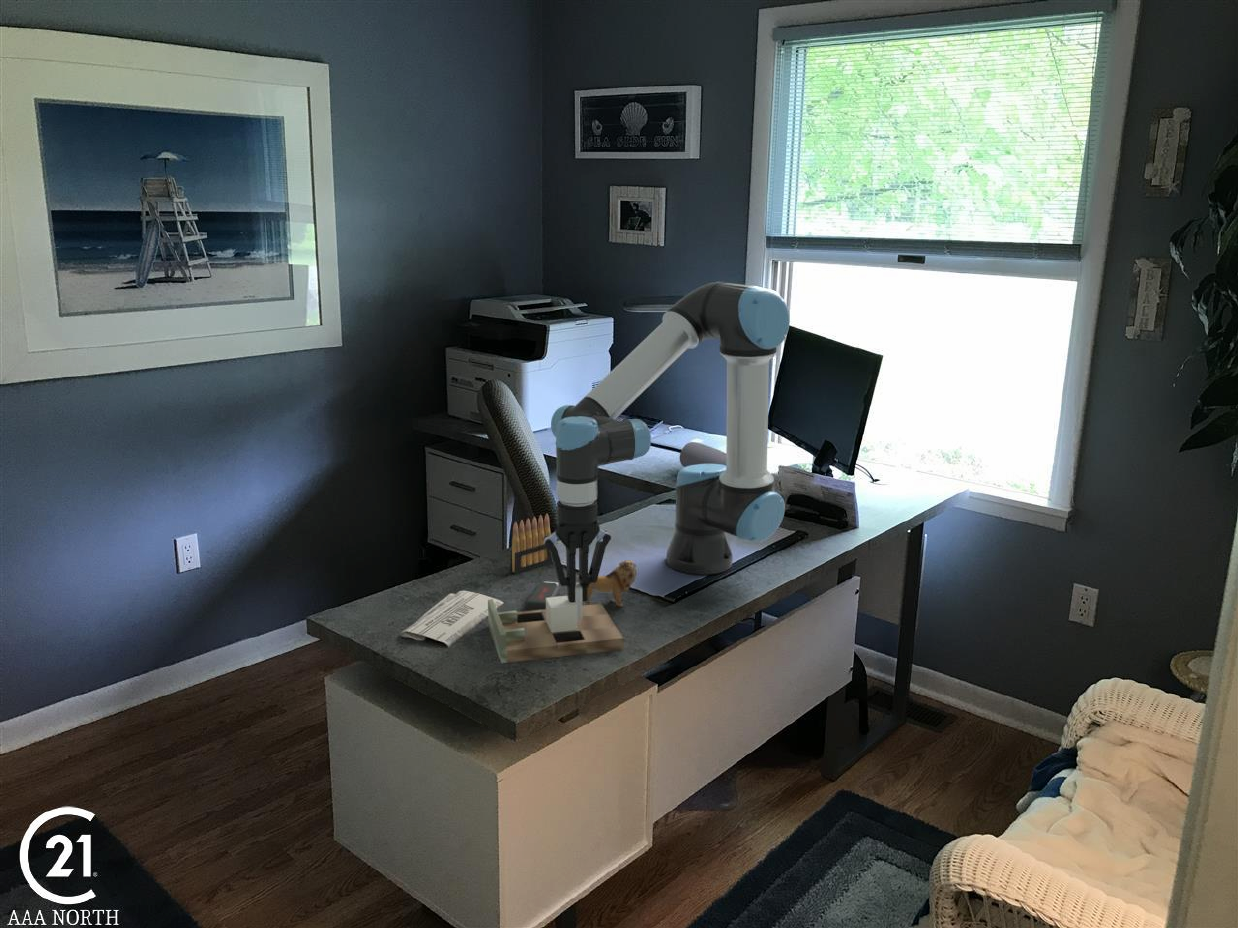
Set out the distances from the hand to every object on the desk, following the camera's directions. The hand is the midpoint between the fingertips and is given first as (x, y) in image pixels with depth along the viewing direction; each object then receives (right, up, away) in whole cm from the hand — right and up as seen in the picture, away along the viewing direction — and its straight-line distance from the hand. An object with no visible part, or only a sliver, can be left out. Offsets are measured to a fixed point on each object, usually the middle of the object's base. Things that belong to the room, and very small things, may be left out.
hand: (577, 616), depth 194 cm
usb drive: (-8, 0, +17) cm, 19 cm away
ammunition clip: (-12, +6, +34) cm, 37 cm away
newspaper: (-26, -3, +7) cm, 27 cm away
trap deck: (-5, -4, 0) cm, 6 cm away
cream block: (-3, -2, 0) cm, 3 cm away
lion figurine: (+5, 0, +16) cm, 17 cm away
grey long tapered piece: (+35, +24, +99) cm, 107 cm away
